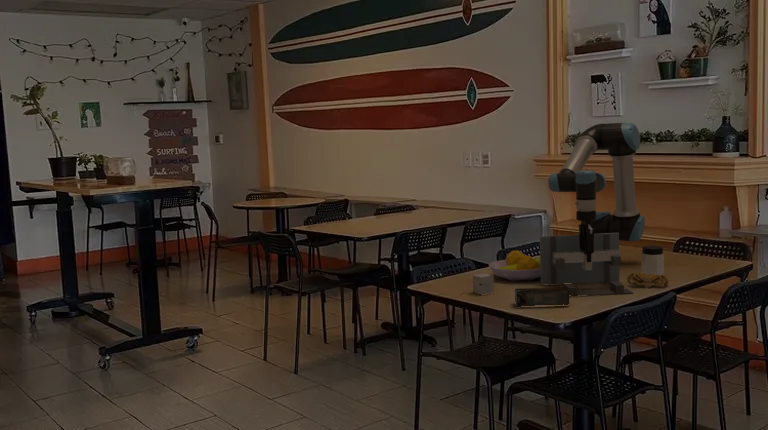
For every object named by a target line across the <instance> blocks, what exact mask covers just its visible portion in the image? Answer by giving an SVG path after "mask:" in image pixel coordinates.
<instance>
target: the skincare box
mask: <svg viewBox="0 0 768 430" xmlns="http://www.w3.org/2000/svg"><path fill="white" fill-rule="evenodd" d="M494 276H495V275H492V274H489V273H486V272H483V273H478V274H473V275H472V292H475V293H474V294H476V293H479V294H486V293H491V292H494V291H495V290H494V289H495V288H494V287H495V286H494V285H495V283H494V279H495V278H494ZM494 293H495V292H494ZM479 294H478V295H479Z"/></svg>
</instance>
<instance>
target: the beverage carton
mask: <svg viewBox="0 0 768 430" xmlns="http://www.w3.org/2000/svg"><path fill="white" fill-rule="evenodd" d="M515 302H516V304H515V306H516V305H517V306H516V308H517V307H521V306H535V305H563V304H564V305H568V304H569V305H570V297H569V291H568V290H567V288H566V287H564V286H559V285H556V286H551V287H531V288H530V287H527V288H521V287H520V288H515V289H514V303H515Z"/></svg>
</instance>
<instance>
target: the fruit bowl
mask: <svg viewBox="0 0 768 430" xmlns="http://www.w3.org/2000/svg"><path fill="white" fill-rule="evenodd" d="M488 267H489V268H490V269H491V271H492V272H493V273H494V276H497V277H501V278H502V279H506V280H508V281H512V282H519V281H521V280H522V281H534V280H537V279H538V278H541V271H540V256H539V257H536V258H533V256H531V255H526V254H525V253H523V252H522V251H520V250H512V251H510V252H509V253H508V254H507V255H506V257H505V259H501V260H495V261H492V262H491V263H490V264H488Z"/></svg>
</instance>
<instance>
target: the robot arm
mask: <svg viewBox="0 0 768 430" xmlns="http://www.w3.org/2000/svg"><path fill="white" fill-rule="evenodd" d="M640 146H641V136H640V132H639V129H638V127H637V125H636V124H635V123H632V122H612V123H610V122H609V123H598V124H594V125H592V126H590V127H588V128H587V129H585V130H584V131H582V132H581V134H579V136H578V137H577V139H576V140H575V146H574V148H573V149H572V151H571V153H570V154H569V156H568V158H567V159H566V161H565V162H564V164H563V165H562V167H561V169H560V170H559V172H555V173H551V174H550V175H549V177H548V182H547V183H548V188H549V191H551V192H554V193H555V192H556V193H575V202H574V204H575V206H576V208H575V209H576V212H575V213H576V214H575V216H576V220H577V221H579V222H580V224H578V233H579V234H578V235H579V242H580V249H581V251H583V250H585V253H584V254H585V262H582V268H585V270H592V253H594V234H602V233H619V242H638V241H641V239H642V237H643V234H644V231H645V226H646V218H645V216H644V215H642V214H641V212H640V209H639V208H637V206H636V205H637V204H636V203H637V202H636V189H635V187H636V186H635V175H634V172H635V171H634V158H633V157H634V155H636V153H637V150H639V149H640ZM597 151H607V155H608V156H609V157H610V158H611V159H612V172H613V184H614V199H615V209H614V211H613V212H612V214H611V212H610V211H609V210H608V211H606V210H604V211H603V210H602V211H596V209H597V193H599V192H601V191H602V190H604V189H605V187H606V186H607V179H606V176H605V175H604V174H602V173H599V172H596V171H595V170H588V169H587V170H583V169H584V167H585V166H586V164H587V163H588V160H589V159H590V157H591V155H593V154H595V153H596V152H597Z"/></svg>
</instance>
